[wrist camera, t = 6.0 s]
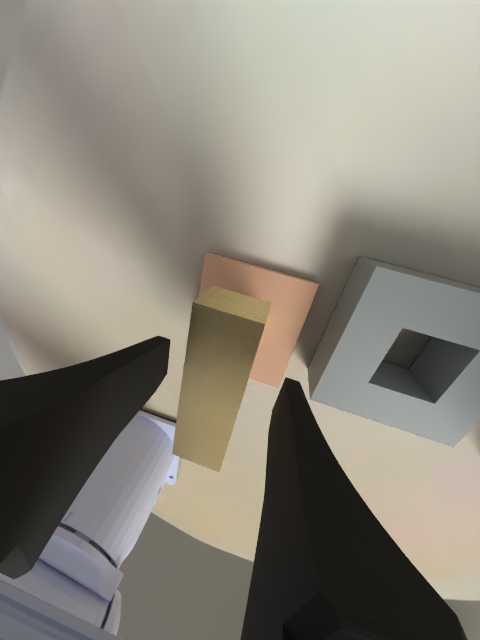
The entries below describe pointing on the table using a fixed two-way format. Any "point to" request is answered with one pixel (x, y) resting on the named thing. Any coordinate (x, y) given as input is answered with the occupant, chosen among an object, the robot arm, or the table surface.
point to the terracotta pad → (284, 315)
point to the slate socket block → (378, 336)
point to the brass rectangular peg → (216, 372)
